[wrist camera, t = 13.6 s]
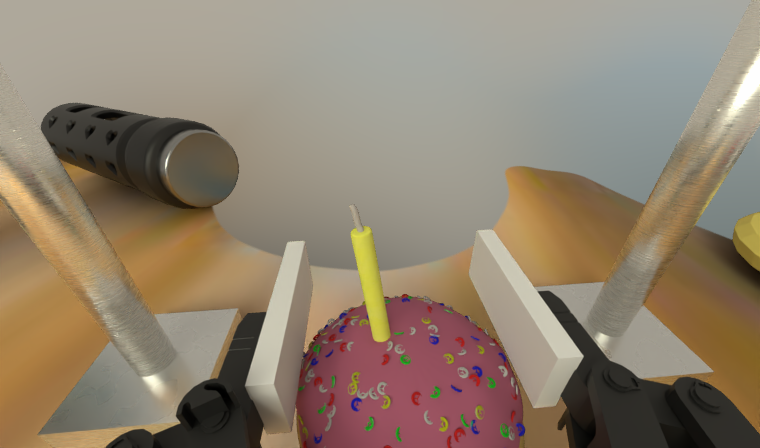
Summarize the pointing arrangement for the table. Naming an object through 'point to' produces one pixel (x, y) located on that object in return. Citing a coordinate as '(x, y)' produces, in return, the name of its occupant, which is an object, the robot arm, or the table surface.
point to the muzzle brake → (145, 153)
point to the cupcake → (404, 374)
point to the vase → (748, 239)
